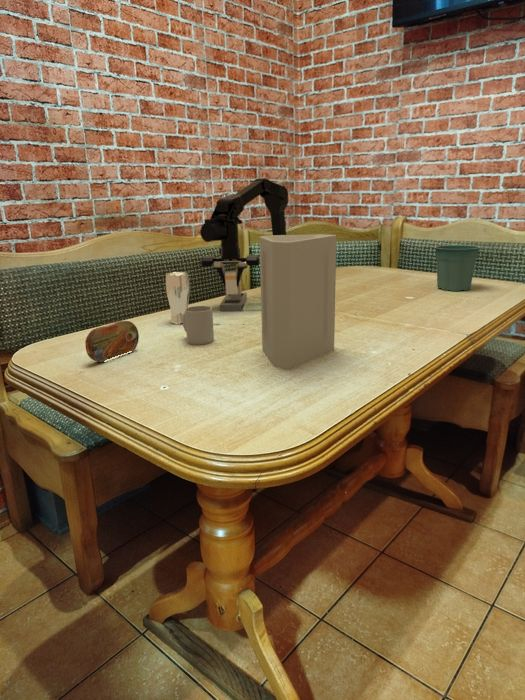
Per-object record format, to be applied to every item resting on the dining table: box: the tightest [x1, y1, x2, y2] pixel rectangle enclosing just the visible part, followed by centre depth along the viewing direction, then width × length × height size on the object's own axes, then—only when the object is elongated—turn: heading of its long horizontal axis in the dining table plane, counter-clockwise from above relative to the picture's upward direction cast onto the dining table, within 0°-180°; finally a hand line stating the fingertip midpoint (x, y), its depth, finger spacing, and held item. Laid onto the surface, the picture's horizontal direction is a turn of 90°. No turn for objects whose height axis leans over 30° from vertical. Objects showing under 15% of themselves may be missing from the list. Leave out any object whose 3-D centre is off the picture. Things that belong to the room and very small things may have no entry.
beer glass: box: [165, 271, 190, 325], centre depth 154 cm, size 7×7×15 cm
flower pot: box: [434, 244, 481, 292], centre depth 194 cm, size 16×16×16 cm
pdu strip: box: [219, 280, 248, 313], centre depth 173 cm, size 7×20×8 cm, turn 177°
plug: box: [225, 270, 238, 295], centre depth 167 cm, size 4×4×7 cm
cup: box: [182, 305, 215, 346], centre depth 135 cm, size 7×10×9 cm
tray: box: [242, 302, 261, 312], centre depth 169 cm, size 9×9×2 cm
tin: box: [84, 320, 140, 363], centre depth 123 cm, size 15×3×8 cm, turn 148°
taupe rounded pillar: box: [259, 233, 337, 371], centre depth 119 cm, size 19×15×28 cm
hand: (231, 287), depth 167 cm, fingers closed on plug, 4 cm apart
